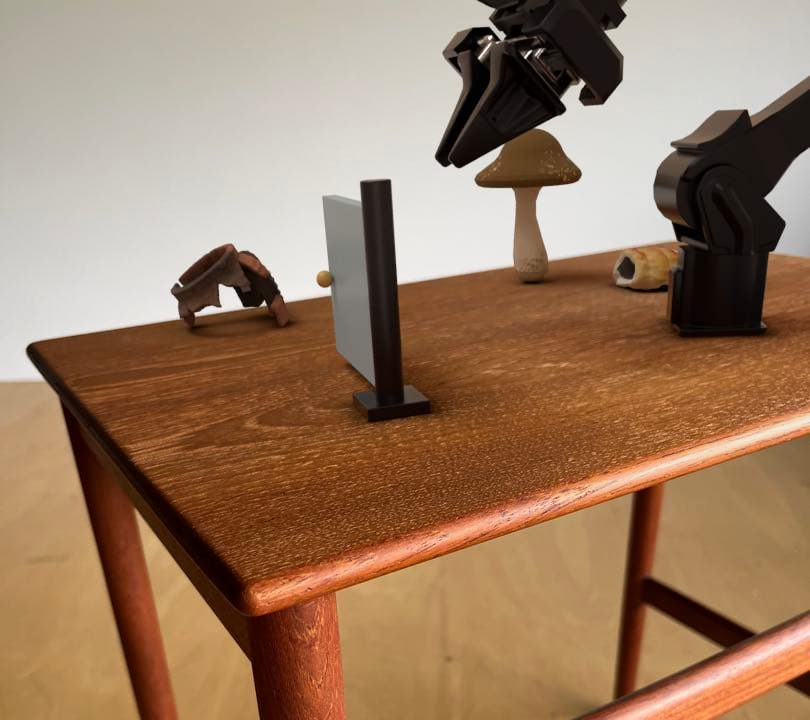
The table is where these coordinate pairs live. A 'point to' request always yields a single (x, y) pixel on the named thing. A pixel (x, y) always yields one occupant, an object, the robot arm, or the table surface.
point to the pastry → (644, 267)
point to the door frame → (384, 311)
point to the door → (348, 282)
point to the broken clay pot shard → (228, 284)
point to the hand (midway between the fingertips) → (446, 163)
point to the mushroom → (529, 191)
